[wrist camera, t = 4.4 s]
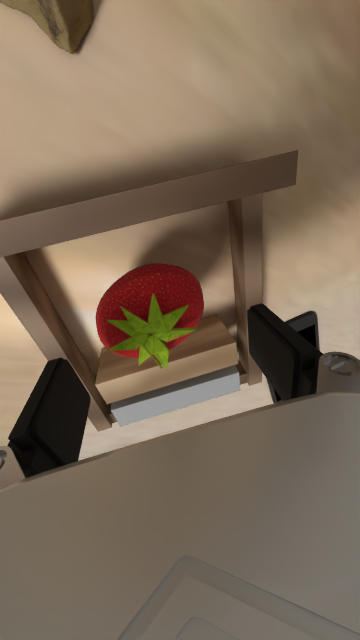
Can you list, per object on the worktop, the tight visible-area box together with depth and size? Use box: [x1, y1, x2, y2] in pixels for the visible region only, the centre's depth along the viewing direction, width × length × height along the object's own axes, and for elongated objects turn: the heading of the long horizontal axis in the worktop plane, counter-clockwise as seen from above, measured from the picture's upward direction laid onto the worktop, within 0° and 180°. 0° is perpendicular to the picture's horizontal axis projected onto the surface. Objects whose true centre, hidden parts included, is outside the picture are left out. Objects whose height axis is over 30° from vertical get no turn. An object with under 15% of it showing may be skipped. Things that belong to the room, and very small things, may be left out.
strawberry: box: [96, 264, 204, 370], centre depth 15 cm, size 6×8×10 cm
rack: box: [0, 150, 298, 431], centre depth 19 cm, size 21×19×6 cm
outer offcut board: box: [111, 365, 240, 427], centre depth 23 cm, size 2×12×5 cm, turn 101°
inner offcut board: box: [95, 315, 238, 404], centre depth 21 cm, size 2×12×5 cm, turn 102°
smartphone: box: [267, 311, 319, 404], centre depth 29 cm, size 7×15×1 cm, turn 23°
